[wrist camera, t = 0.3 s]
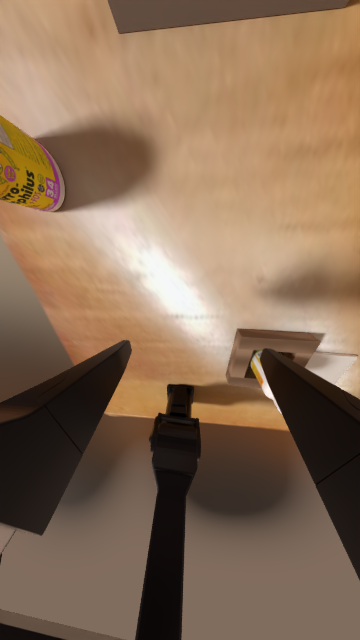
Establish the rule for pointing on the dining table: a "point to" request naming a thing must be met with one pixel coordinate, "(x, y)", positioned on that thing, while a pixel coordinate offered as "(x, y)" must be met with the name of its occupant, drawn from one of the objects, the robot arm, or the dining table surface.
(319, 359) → the coaster
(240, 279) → the dining table surface
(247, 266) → the dining table surface
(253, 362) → the supplement bottle
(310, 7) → the tray rim
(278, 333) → the block
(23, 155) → the supplement bottle
